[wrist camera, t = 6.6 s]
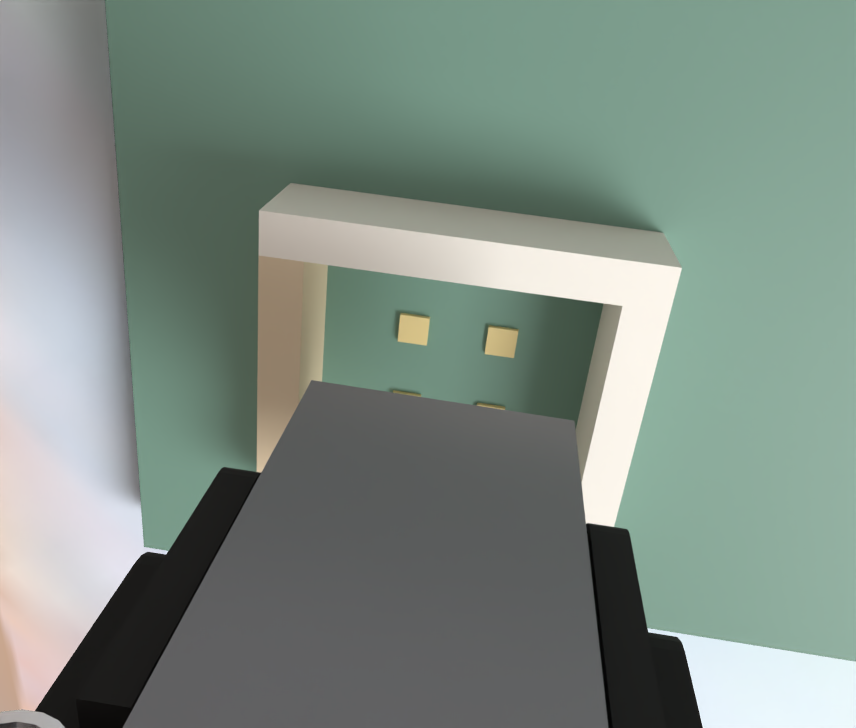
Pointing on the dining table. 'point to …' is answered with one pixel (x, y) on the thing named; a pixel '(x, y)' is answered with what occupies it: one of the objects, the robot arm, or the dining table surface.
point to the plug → (395, 579)
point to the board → (517, 260)
